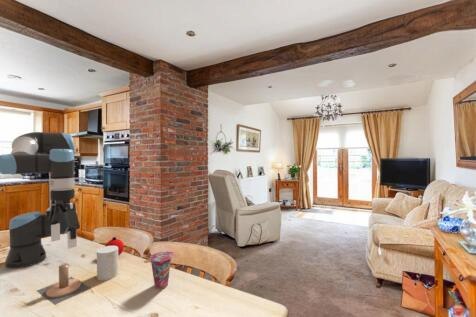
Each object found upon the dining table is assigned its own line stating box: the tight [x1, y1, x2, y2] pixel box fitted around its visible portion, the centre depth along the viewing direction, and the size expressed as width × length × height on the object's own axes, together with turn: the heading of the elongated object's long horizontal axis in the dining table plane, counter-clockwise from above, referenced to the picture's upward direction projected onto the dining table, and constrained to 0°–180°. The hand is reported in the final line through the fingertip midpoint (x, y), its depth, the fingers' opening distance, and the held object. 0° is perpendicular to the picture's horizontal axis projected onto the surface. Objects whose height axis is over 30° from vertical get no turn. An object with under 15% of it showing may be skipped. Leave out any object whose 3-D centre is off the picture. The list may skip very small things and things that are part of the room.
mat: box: [36, 276, 91, 305], centre depth 93 cm, size 16×12×1 cm
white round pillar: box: [96, 246, 120, 281], centre depth 103 cm, size 8×8×12 cm
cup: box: [149, 251, 175, 290], centre depth 97 cm, size 9×8×12 cm
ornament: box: [104, 236, 125, 257], centre depth 123 cm, size 9×9×10 cm
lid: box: [46, 263, 82, 298], centre depth 93 cm, size 11×11×9 cm
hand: (63, 243), depth 92 cm, fingers open, 13 cm apart
